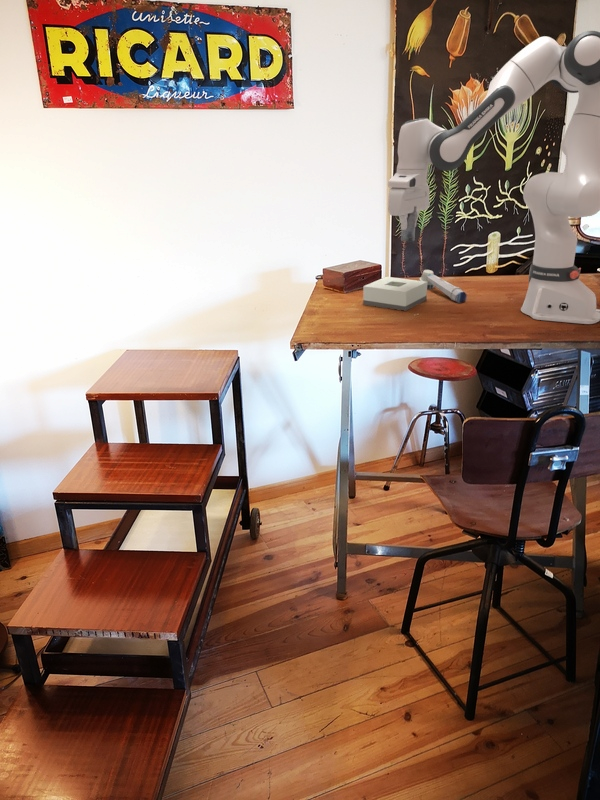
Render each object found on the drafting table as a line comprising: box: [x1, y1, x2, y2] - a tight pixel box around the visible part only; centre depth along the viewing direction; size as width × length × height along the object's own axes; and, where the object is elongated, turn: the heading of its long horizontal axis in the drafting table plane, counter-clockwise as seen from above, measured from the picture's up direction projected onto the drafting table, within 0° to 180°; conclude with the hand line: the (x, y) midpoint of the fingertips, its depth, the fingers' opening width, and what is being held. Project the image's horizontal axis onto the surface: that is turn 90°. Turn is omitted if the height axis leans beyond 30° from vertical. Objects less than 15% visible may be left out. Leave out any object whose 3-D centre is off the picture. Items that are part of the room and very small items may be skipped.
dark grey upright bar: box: [400, 206, 417, 242], centre depth 180 cm, size 4×4×10 cm
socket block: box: [362, 276, 428, 312], centre depth 193 cm, size 15×15×6 cm
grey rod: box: [418, 269, 468, 304], centre depth 202 cm, size 5×7×25 cm
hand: (408, 228), depth 181 cm, fingers closed on dark grey upright bar, 4 cm apart
